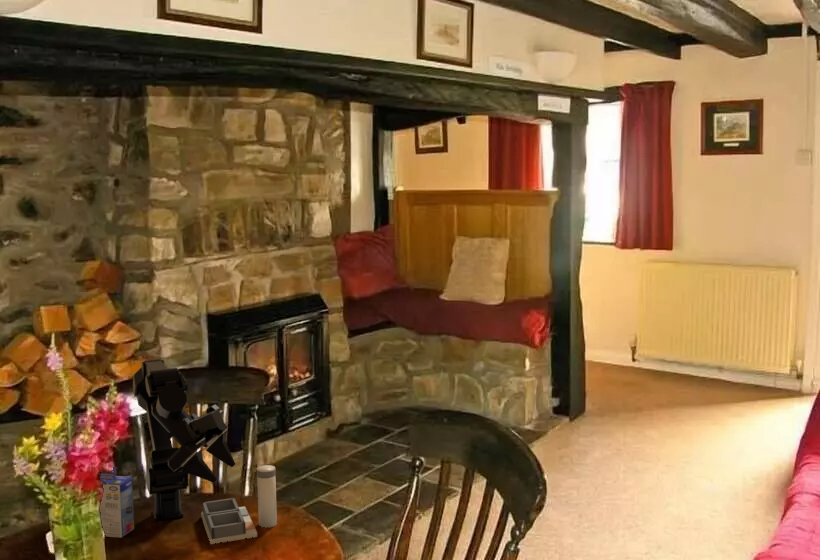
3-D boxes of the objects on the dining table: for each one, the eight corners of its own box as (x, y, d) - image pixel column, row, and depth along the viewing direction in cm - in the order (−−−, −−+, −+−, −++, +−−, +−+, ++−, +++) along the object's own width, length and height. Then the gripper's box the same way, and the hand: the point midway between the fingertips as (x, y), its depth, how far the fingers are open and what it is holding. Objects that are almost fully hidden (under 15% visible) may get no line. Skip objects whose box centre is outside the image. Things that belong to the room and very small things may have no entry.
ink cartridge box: (136, 528, 191) (132, 465, 189) (123, 539, 186) (119, 474, 184) (96, 525, 193) (92, 463, 191) (82, 535, 188) (78, 472, 186)
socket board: (201, 516, 197) (200, 502, 196) (245, 510, 200) (244, 496, 200) (210, 544, 183) (209, 528, 182) (257, 536, 186) (256, 521, 186)
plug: (257, 521, 194) (255, 466, 192) (275, 519, 195) (273, 464, 193) (260, 529, 190) (258, 472, 188) (278, 526, 191) (277, 470, 190)
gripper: (178, 410, 177) (230, 465, 176) (218, 386, 195) (265, 436, 194) (145, 443, 180) (196, 498, 179) (188, 417, 198) (234, 466, 197)
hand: (224, 473), depth 187 cm, fingers open, 9 cm apart
